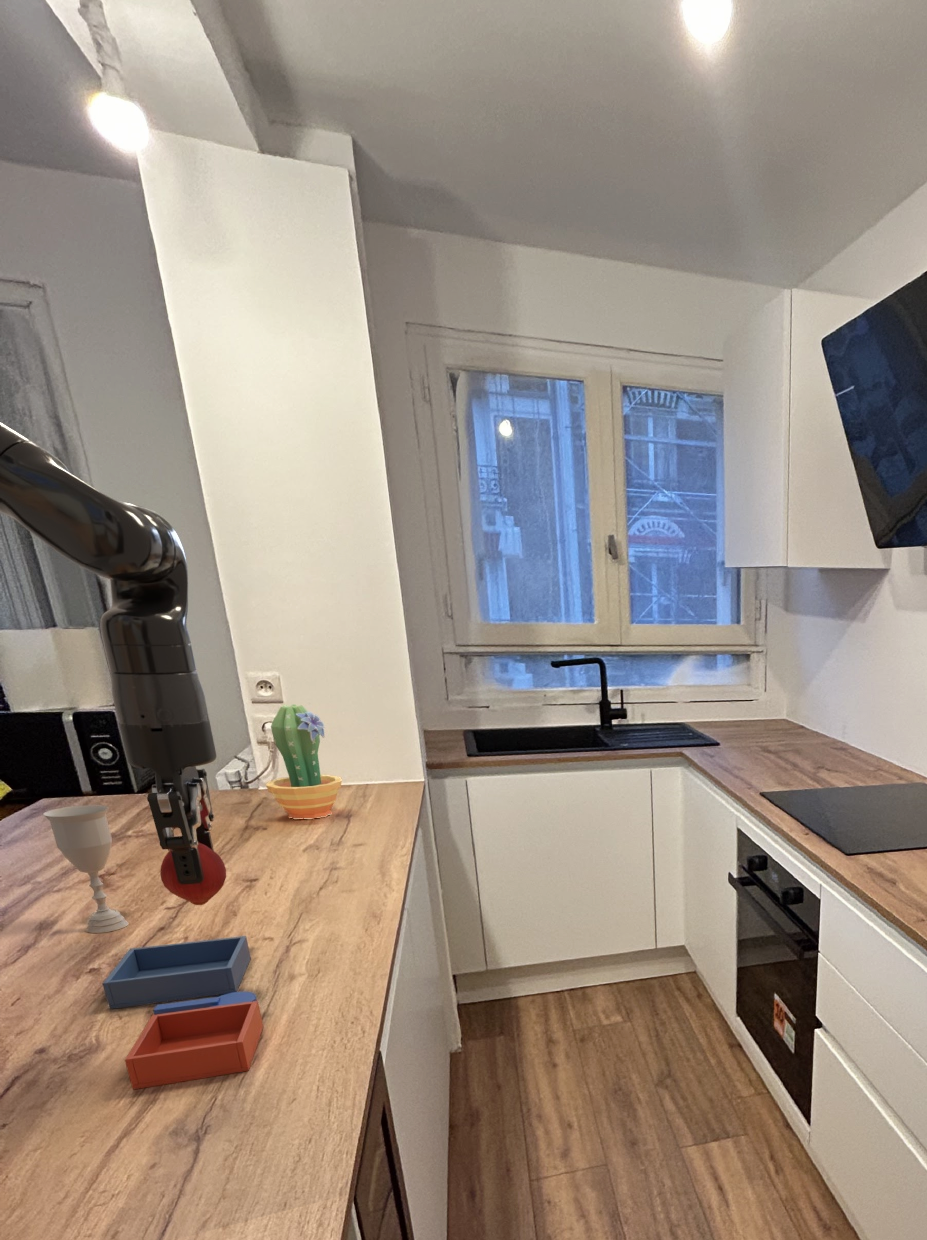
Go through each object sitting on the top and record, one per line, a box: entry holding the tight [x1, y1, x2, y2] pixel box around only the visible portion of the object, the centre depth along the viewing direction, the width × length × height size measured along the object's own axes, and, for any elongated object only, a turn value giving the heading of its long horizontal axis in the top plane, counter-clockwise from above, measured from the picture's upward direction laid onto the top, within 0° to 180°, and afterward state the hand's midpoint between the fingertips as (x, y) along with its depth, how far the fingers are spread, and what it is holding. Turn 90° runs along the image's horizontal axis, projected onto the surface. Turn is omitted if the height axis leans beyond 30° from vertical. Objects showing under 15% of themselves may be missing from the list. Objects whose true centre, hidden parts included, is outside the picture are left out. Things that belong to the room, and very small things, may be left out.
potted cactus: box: [265, 704, 342, 819], centre depth 183 cm, size 15×15×25 cm
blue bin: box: [102, 935, 252, 1010], centre depth 105 cm, size 13×11×4 cm
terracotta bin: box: [124, 1000, 264, 1090], centre depth 89 cm, size 10×10×4 cm
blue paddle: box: [152, 990, 258, 1015], centre depth 98 cm, size 10×5×2 cm, turn 113°
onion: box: [159, 843, 227, 906], centre depth 88 cm, size 6×6×8 cm
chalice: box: [42, 804, 130, 934], centre depth 120 cm, size 7×7×18 cm
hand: (198, 873), depth 88 cm, fingers closed on onion, 6 cm apart
